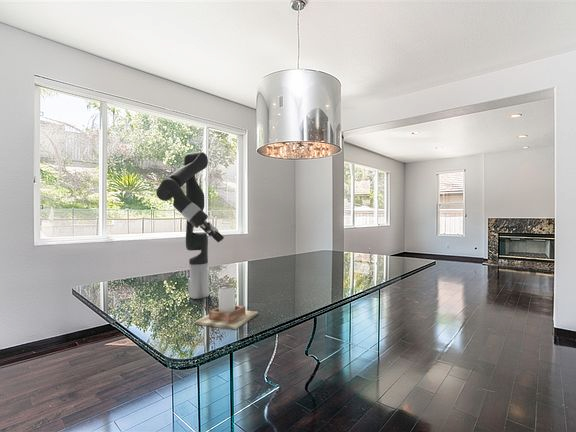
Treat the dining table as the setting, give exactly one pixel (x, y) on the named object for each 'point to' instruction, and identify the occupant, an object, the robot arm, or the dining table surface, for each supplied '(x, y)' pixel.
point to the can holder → (227, 318)
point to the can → (227, 298)
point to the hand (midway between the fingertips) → (221, 240)
